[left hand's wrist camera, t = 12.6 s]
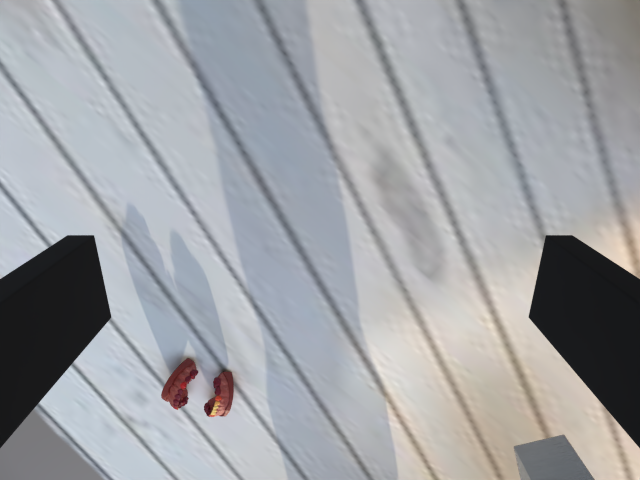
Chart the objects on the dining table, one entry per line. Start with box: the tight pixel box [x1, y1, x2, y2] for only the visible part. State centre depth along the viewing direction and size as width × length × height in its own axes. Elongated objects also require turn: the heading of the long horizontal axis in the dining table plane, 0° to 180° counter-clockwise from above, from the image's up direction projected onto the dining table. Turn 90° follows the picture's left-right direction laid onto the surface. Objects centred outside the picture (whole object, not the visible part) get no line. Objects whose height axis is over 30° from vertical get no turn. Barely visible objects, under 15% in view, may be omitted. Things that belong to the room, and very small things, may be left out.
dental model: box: [161, 358, 233, 417], centre depth 50 cm, size 6×4×8 cm
